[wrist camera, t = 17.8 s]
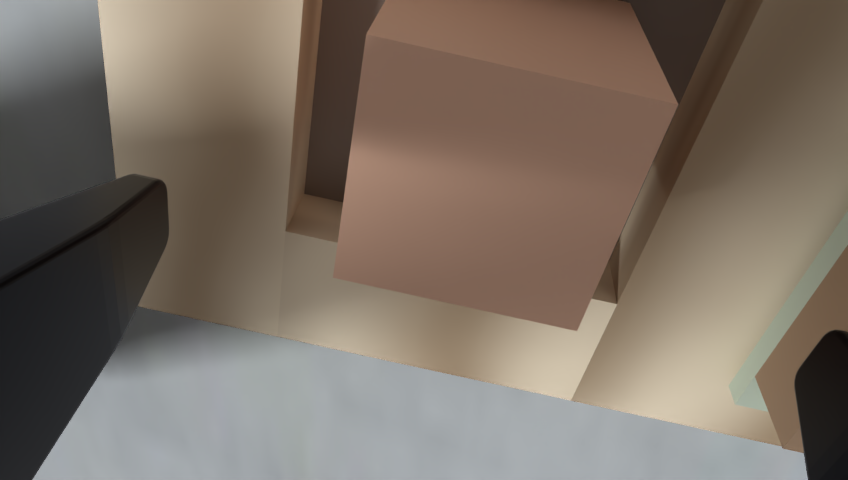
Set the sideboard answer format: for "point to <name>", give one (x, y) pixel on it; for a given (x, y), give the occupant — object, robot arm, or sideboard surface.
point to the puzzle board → (462, 326)
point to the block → (499, 151)
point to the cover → (796, 339)
